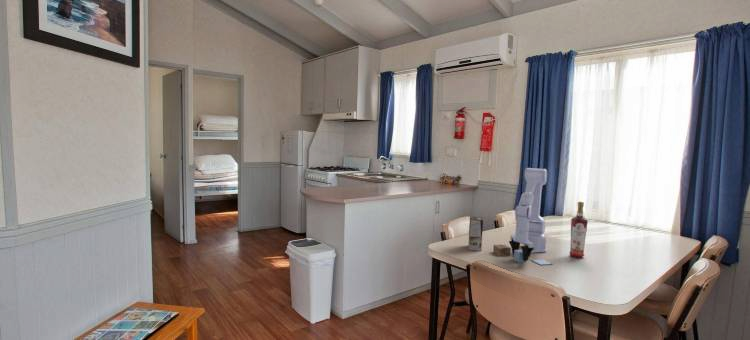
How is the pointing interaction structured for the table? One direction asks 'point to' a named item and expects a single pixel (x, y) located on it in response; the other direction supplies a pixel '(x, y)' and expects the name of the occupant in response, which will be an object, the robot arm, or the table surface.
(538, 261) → the tile
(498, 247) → the walnut block
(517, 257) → the blue block
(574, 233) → the liquor
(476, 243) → the coffee box
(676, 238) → the table surface
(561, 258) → the table surface
